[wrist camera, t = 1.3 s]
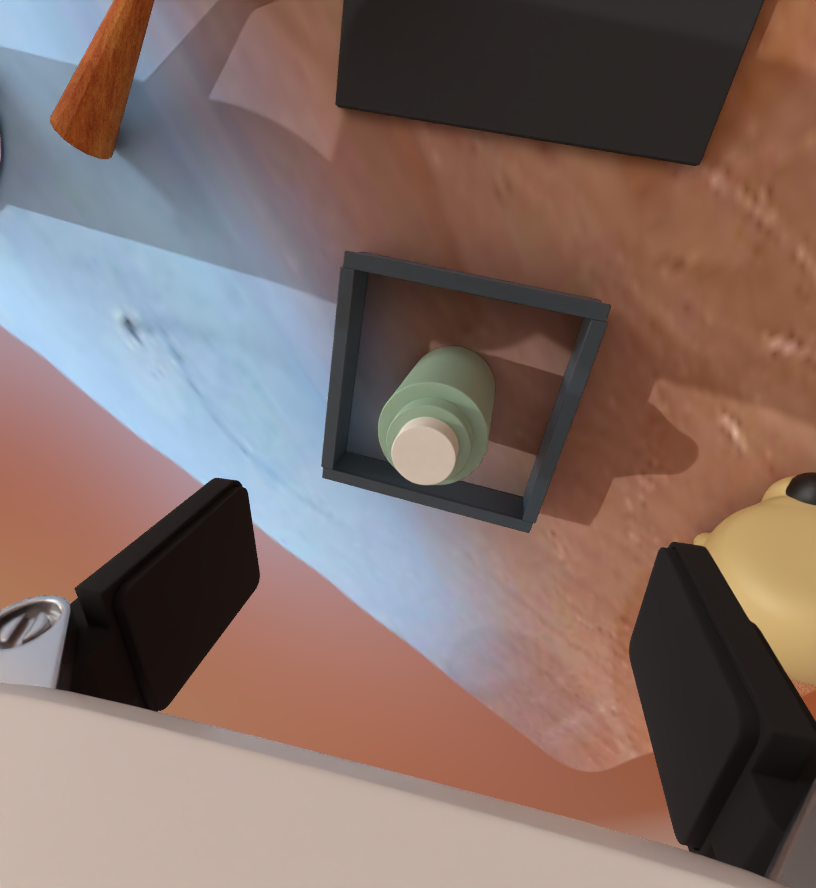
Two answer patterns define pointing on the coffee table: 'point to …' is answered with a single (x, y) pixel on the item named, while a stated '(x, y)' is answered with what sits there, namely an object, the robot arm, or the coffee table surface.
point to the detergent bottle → (439, 417)
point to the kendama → (103, 81)
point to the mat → (550, 68)
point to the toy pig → (775, 569)
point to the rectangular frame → (459, 493)
